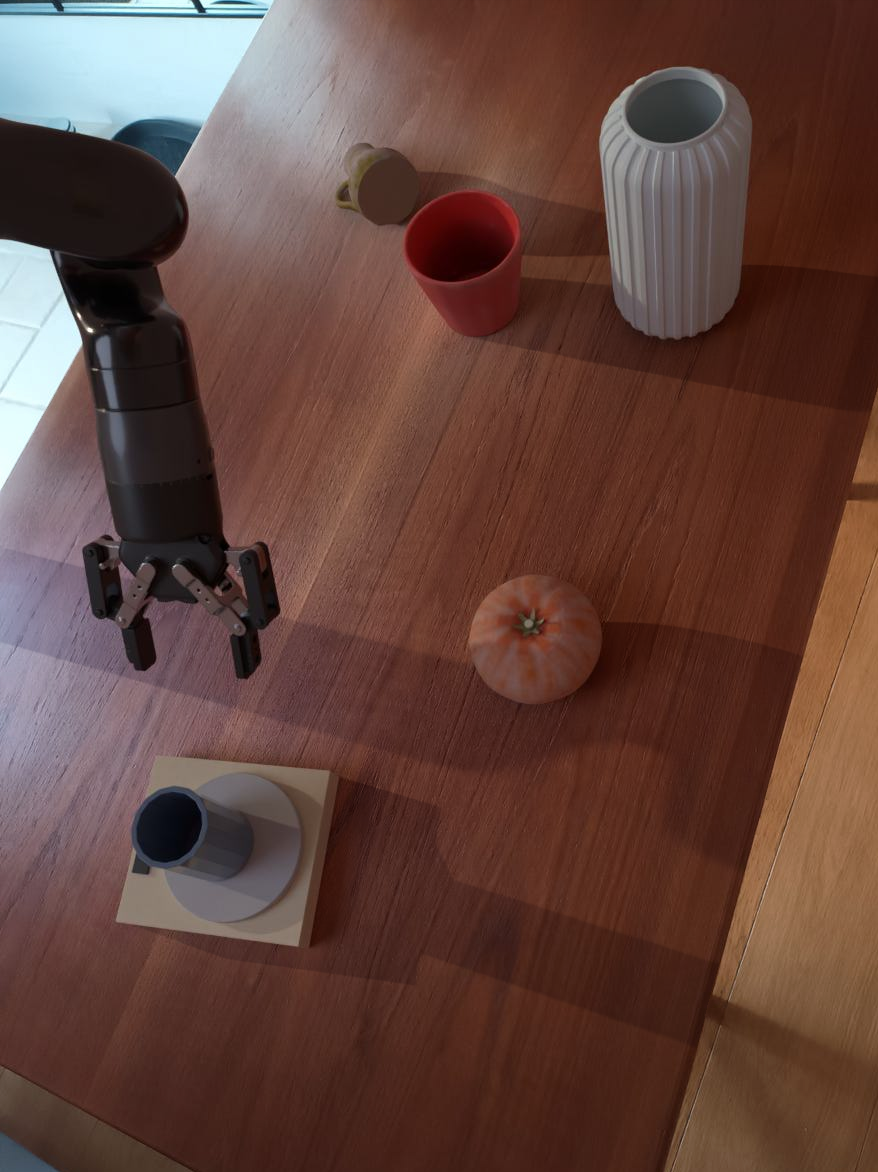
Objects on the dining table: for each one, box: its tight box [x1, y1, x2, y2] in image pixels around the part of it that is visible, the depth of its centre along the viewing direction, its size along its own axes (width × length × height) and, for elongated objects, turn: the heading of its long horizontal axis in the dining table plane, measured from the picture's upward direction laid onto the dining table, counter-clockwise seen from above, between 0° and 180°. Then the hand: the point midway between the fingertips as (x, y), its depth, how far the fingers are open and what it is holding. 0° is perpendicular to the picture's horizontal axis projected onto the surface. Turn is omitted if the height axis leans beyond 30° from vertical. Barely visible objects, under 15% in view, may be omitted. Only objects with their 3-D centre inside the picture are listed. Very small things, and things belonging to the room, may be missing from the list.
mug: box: [333, 142, 421, 227], centre depth 102 cm, size 8×10×10 cm
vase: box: [598, 65, 753, 341], centre depth 83 cm, size 12×12×22 cm
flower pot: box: [401, 189, 523, 338], centre depth 93 cm, size 11×11×10 cm
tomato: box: [468, 574, 603, 705], centre depth 80 cm, size 11×11×8 cm
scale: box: [115, 754, 340, 949], centre depth 82 cm, size 16×14×3 cm
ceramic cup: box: [130, 786, 254, 882], centre depth 76 cm, size 6×6×8 cm
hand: (196, 670), depth 76 cm, fingers open, 8 cm apart
